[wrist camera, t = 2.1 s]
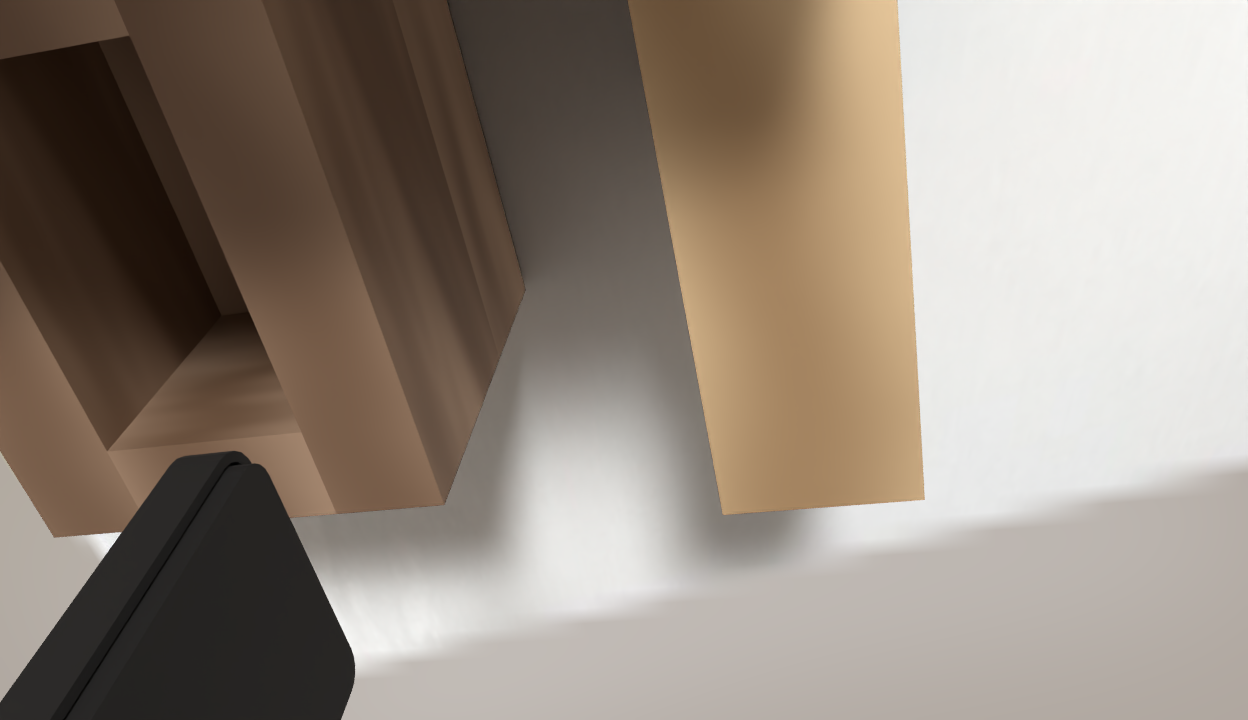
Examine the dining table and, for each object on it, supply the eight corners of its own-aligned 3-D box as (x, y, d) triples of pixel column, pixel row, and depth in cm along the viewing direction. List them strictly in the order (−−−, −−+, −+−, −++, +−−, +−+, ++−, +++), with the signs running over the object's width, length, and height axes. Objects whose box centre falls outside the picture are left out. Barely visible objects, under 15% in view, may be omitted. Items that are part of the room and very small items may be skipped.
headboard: (829, -486, 19) (999, -871, 6) (881, 246, 27) (1006, 801, 14) (-98, -251, 23) (-1282, -160, 10) (180, 331, 31) (-262, 832, 17)
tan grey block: (832, -294, 21) (881, -278, 12) (872, 247, 27) (924, 499, 19) (653, -255, 22) (587, -214, 13) (733, 263, 28) (722, 515, 19)
